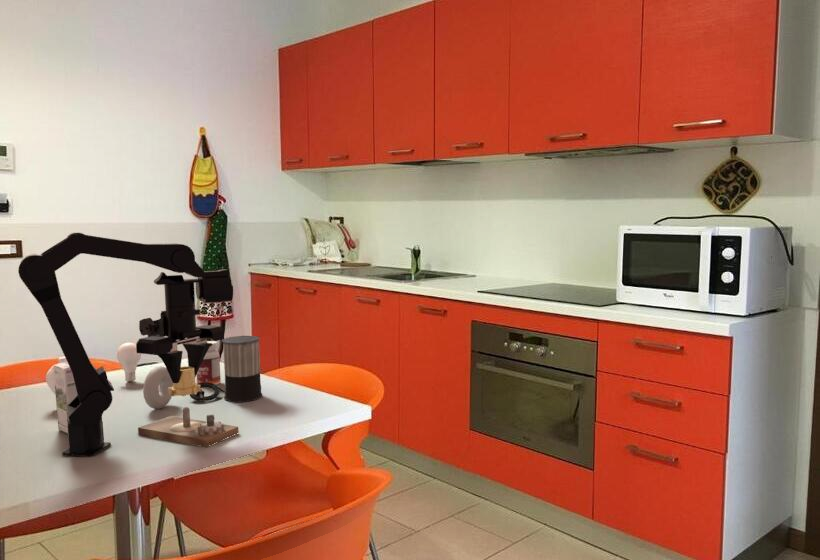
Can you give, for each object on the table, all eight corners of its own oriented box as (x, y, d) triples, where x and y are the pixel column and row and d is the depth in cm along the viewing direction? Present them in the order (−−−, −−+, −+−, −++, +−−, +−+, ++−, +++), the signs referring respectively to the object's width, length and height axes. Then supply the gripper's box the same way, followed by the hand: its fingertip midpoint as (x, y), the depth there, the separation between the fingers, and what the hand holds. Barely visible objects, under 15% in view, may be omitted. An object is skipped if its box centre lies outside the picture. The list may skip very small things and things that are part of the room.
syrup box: (96, 429, 146) (92, 362, 145) (68, 436, 142) (63, 367, 140) (84, 424, 150) (80, 359, 148) (56, 431, 145) (51, 364, 144)
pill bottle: (192, 386, 182) (190, 344, 181) (206, 380, 188) (204, 340, 186) (211, 387, 180) (209, 345, 179) (225, 382, 185) (223, 341, 184)
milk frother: (269, 397, 169) (267, 338, 168) (210, 410, 158) (206, 347, 157) (241, 387, 180) (239, 331, 178) (183, 399, 169) (180, 340, 168)
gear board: (238, 433, 141) (237, 406, 140) (207, 447, 133) (205, 418, 133) (171, 422, 150) (170, 397, 149) (138, 434, 142) (136, 407, 141)
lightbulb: (119, 380, 190) (116, 341, 189) (143, 378, 192) (141, 339, 190) (116, 385, 184) (114, 345, 183) (142, 383, 186) (139, 343, 184)
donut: (154, 414, 156) (152, 371, 155) (141, 414, 157) (138, 371, 156) (178, 402, 166) (175, 362, 165) (165, 402, 166) (162, 361, 165)
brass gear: (192, 396, 137) (190, 371, 137) (163, 396, 138) (161, 371, 138) (205, 388, 143) (203, 365, 143) (177, 388, 144) (176, 365, 144)
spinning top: (48, 405, 166) (44, 356, 165) (82, 400, 169) (79, 352, 168) (47, 412, 159) (44, 362, 158) (84, 408, 163) (80, 358, 161)
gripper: (185, 298, 151) (188, 367, 152) (114, 309, 134) (119, 387, 136) (224, 300, 146) (227, 372, 147) (155, 312, 129) (159, 393, 131)
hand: (184, 380), depth 140 cm, fingers closed on brass gear, 4 cm apart
